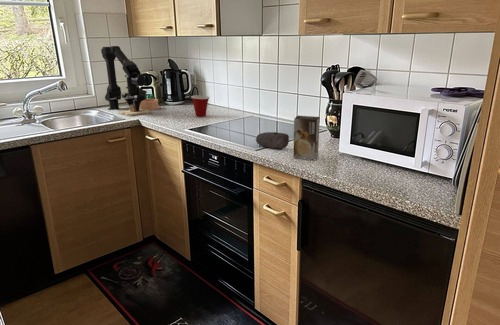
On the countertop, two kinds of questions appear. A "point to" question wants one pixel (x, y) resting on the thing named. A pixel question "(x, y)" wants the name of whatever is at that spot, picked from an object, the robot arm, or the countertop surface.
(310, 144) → the coffee box
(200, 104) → the plastic cup
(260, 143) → the perforated stone tool
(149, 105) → the bowl
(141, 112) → the lid
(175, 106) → the countertop surface
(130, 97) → the robot arm
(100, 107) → the countertop surface
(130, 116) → the mat
